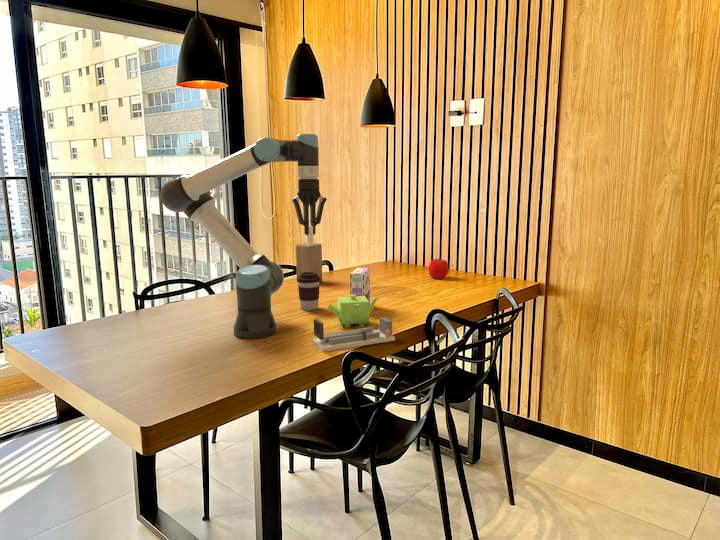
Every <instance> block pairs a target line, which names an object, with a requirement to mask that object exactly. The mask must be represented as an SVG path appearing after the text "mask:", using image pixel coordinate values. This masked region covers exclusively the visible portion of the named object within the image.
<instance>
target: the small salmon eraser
mask: <svg viewBox="0 0 720 540" xmlns="http://www.w3.org/2000/svg"><path fill="white" fill-rule="evenodd" d="M385 336H386V337H390V330H389V329H387V330H385Z"/></svg>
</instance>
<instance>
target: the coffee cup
mask: <svg viewBox="0 0 720 540" xmlns="http://www.w3.org/2000/svg"><path fill="white" fill-rule="evenodd" d="M319 281H321V277H320V276H318V275H317V273H315V272H303V273H301V274H300V276H298V277H297V276H296V282H297V283H298V285H297V289H298V300H299V304H300V309H301V310H303V311H315V310H317V309H318V308H319V298H320V287H321V286H320V282H319ZM321 282H322V281H321Z"/></svg>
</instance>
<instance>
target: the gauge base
mask: <svg viewBox="0 0 720 540" xmlns="http://www.w3.org/2000/svg"><path fill="white" fill-rule="evenodd" d="M387 329H389V330H390V337H386V336H385V330H387ZM360 330H362V331H363V332H364V331H366V340H364V335H363V334H362V333H361V334H359V335H352V336H345V337H338V338H331V339H329V342H325V343H321V342H320V339H319V338H318V337H316V338H312V343H313V344H314V345H315V346H316V347H317V348H318V349H319V350H320V351H321V352H329V351H337V350H343V349H349V348H354V347H362V346H368V345H375V344H380V343H388V342H394V341H395V342H396V337H395V335H393V321H392V320H391V319H389V318H387V317H385V316H381V317H379V329H373V327H361V328H357V329H349V330H343V331H334V332H329V333H328V332H327V333H324V335H330V334H337V333H344V332H351V331H360Z"/></svg>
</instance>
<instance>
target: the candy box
mask: <svg viewBox="0 0 720 540" xmlns="http://www.w3.org/2000/svg"><path fill="white" fill-rule="evenodd" d="M370 269H371V268H370V267H356V268H355V269H354V270H353V271H351V272H350V276H349V277H350V279H349V280H350V284H349V285H350V286H349V287H350V288H349V289H350V290H349V294H350V295H357V296H365V297H366V298H367V299H368V301H369V306H370V304H371V283H370V282H371V280H370V279H371V276H370V275H371V274H370V273H371V270H370ZM350 295H349V296H350Z"/></svg>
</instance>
